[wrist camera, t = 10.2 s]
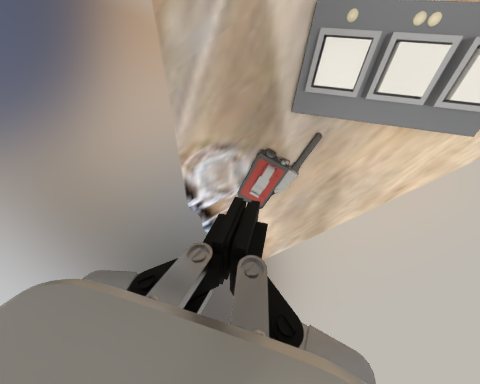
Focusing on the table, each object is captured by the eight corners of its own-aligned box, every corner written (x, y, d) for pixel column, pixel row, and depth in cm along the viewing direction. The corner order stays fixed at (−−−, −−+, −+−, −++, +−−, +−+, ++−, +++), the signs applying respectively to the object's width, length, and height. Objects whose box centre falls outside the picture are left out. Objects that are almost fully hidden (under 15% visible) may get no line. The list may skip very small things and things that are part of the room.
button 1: (324, 39, 23) (326, 36, 21) (366, 42, 22) (371, 39, 21) (312, 84, 26) (313, 84, 24) (349, 88, 25) (353, 89, 23)
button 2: (392, 44, 22) (400, 41, 20) (439, 47, 21) (451, 45, 19) (372, 91, 25) (377, 91, 23) (413, 95, 24) (421, 96, 22)
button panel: (316, 2, 23) (320, -10, 20) (554, 12, 19) (608, -3, 16) (291, 110, 30) (291, 113, 27) (462, 133, 26) (486, 140, 23)
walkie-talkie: (268, 209, 43) (324, 135, 32) (266, 221, 39) (329, 142, 28) (236, 192, 43) (281, 110, 31) (231, 202, 39) (280, 114, 28)
